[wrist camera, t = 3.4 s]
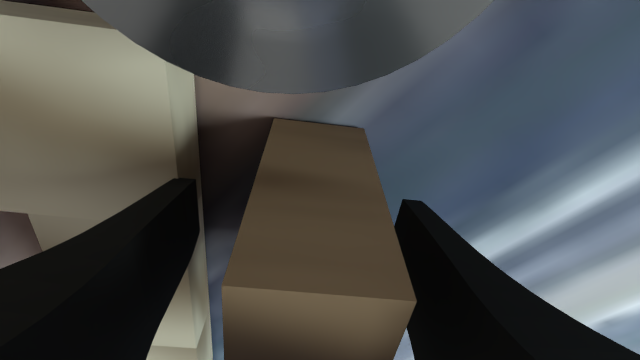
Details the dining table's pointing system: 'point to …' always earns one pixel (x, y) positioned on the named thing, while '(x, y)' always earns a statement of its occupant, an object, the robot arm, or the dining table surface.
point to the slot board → (97, 142)
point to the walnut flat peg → (316, 254)
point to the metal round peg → (289, 37)
